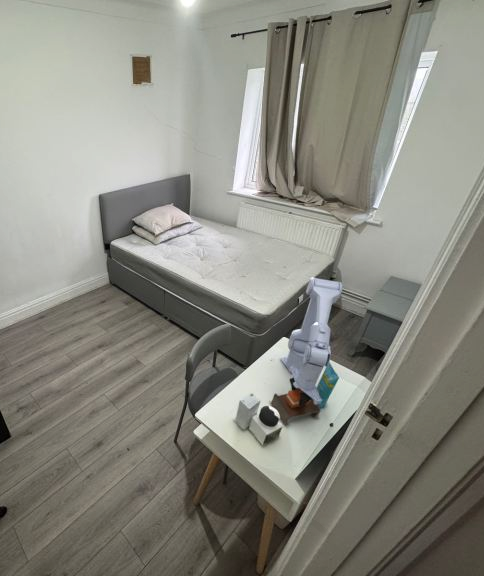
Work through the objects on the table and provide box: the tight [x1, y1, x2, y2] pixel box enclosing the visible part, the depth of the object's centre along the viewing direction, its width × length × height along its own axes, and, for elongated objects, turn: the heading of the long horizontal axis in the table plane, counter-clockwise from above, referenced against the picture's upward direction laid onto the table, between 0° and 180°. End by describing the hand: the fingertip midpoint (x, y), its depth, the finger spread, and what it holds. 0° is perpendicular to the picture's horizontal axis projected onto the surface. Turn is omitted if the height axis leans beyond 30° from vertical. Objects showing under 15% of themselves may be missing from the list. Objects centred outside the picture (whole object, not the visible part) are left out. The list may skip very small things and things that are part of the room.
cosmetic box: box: [234, 392, 261, 431], centre depth 105 cm, size 6×4×12 cm
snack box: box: [286, 389, 311, 408], centre depth 107 cm, size 7×4×5 cm, turn 102°
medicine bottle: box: [248, 405, 284, 446], centre depth 102 cm, size 7×7×12 cm
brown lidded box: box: [270, 392, 321, 426], centre depth 110 cm, size 13×9×6 cm
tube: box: [312, 361, 340, 409], centre depth 109 cm, size 7×5×19 cm, turn 2°
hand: (298, 399), depth 108 cm, fingers closed on snack box, 4 cm apart
